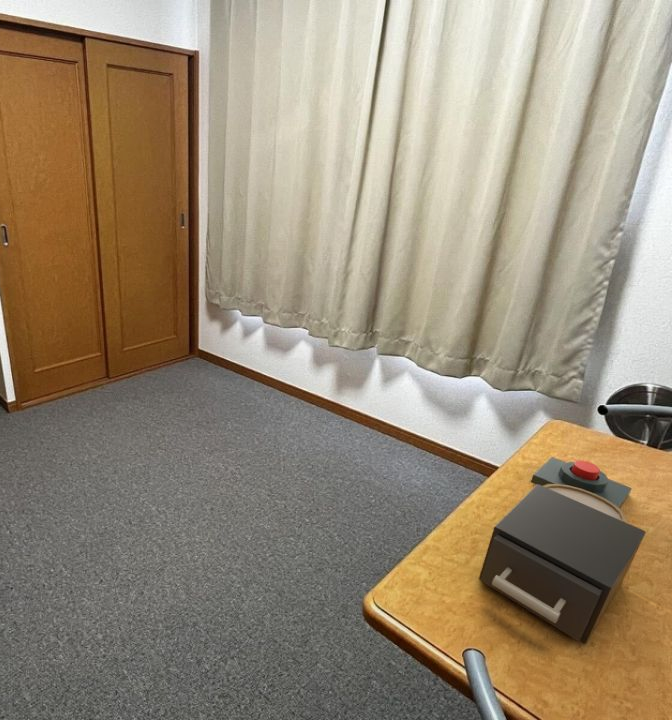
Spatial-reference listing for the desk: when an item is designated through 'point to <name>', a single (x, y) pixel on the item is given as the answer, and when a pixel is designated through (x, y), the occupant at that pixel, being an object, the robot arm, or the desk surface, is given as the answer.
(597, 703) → the desk surface
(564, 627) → the drawer
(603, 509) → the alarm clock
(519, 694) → the desk surface
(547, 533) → the cabinet
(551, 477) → the panel
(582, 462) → the button
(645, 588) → the desk surface
